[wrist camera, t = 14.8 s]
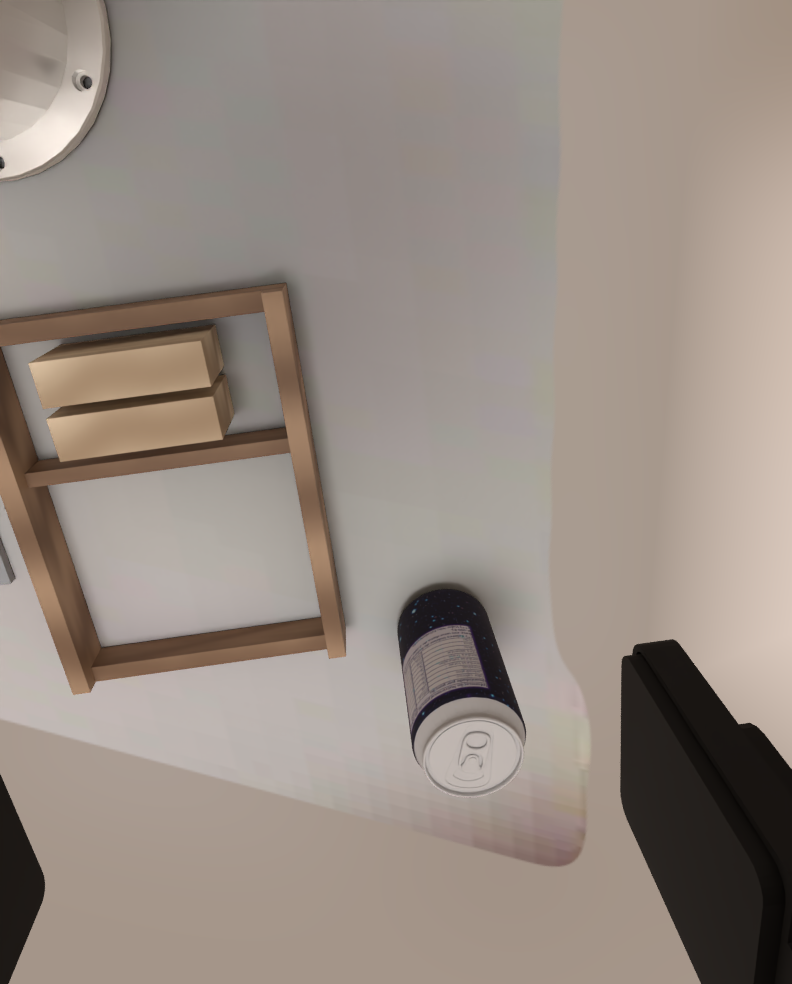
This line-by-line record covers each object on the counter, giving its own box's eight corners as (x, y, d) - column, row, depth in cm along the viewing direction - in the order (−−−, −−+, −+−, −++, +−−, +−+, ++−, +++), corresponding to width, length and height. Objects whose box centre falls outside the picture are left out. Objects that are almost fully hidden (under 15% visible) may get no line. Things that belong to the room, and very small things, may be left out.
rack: (-28, 323, 37) (-58, 334, 34) (286, 282, 37) (282, 290, 34) (89, 663, 45) (73, 694, 42) (345, 627, 46) (346, 656, 43)
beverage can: (390, 654, 47) (406, 800, 36) (404, 577, 44) (425, 707, 33) (476, 661, 47) (518, 807, 36) (494, 585, 45) (544, 716, 34)
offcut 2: (76, 394, 39) (46, 419, 35) (226, 374, 39) (212, 396, 35) (88, 433, 40) (60, 461, 36) (234, 413, 40) (222, 439, 36)
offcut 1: (61, 344, 38) (28, 363, 34) (215, 323, 38) (200, 340, 34) (74, 385, 39) (43, 408, 35) (224, 365, 39) (211, 386, 35)
